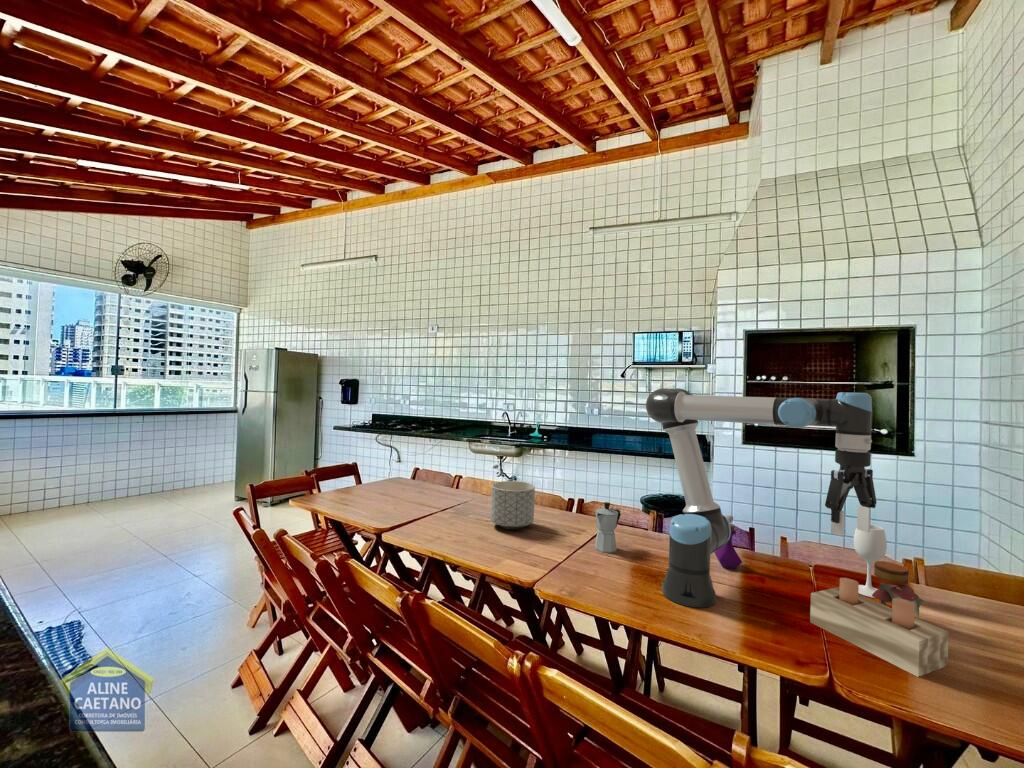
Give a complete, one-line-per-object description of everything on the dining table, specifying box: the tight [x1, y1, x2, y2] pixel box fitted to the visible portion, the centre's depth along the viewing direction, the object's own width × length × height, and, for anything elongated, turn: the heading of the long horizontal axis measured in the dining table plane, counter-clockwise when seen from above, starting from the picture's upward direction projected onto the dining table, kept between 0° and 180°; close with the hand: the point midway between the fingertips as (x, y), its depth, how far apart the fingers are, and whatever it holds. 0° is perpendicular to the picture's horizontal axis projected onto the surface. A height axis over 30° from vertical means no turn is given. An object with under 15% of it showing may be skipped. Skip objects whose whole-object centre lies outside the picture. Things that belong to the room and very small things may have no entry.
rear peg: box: [839, 577, 860, 606], centre depth 117 cm, size 4×4×7 cm
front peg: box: [891, 598, 915, 630], centre depth 106 cm, size 4×4×7 cm
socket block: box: [809, 586, 949, 678], centre depth 111 cm, size 12×24×8 cm, turn 22°
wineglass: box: [853, 523, 888, 599], centre depth 140 cm, size 9×9×21 cm
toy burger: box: [872, 560, 925, 619], centre depth 123 cm, size 12×13×15 cm
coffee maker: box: [594, 501, 622, 554], centre depth 171 cm, size 15×9×18 cm, turn 131°
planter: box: [490, 480, 536, 530], centre depth 194 cm, size 19×19×18 cm
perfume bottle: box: [713, 514, 743, 570], centre depth 157 cm, size 8×8×18 cm
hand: (850, 532), depth 117 cm, fingers open, 10 cm apart
